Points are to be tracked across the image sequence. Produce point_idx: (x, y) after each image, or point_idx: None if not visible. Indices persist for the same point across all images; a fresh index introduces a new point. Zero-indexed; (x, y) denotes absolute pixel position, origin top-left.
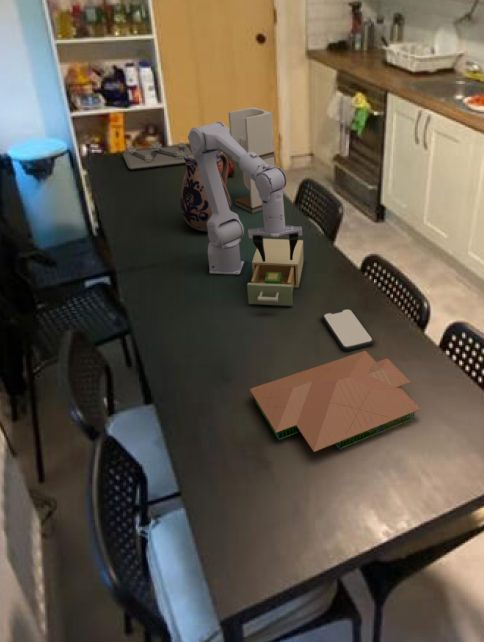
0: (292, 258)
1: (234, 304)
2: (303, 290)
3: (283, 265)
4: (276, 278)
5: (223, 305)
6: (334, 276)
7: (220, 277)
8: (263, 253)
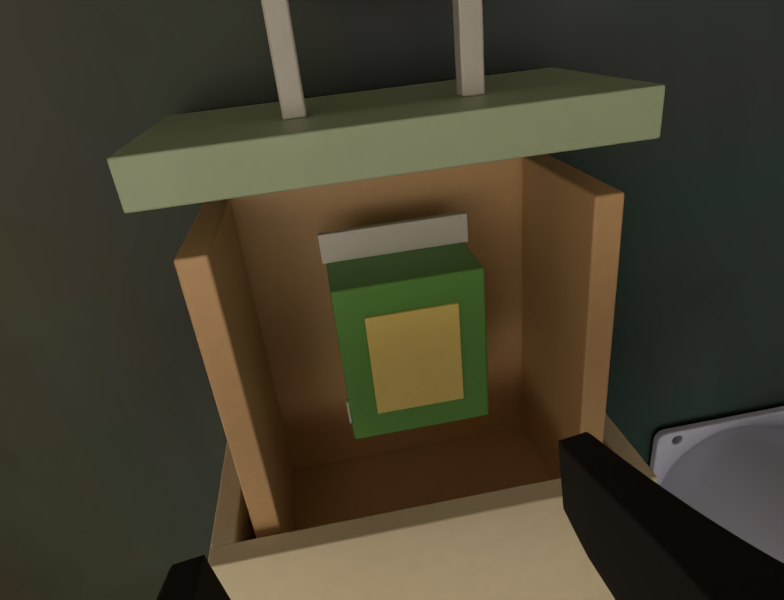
0: (160, 592)
1: (656, 72)
2: (182, 378)
3: (354, 521)
4: (371, 332)
5: (738, 39)
6: (37, 576)
7: (764, 378)
8: (653, 538)
